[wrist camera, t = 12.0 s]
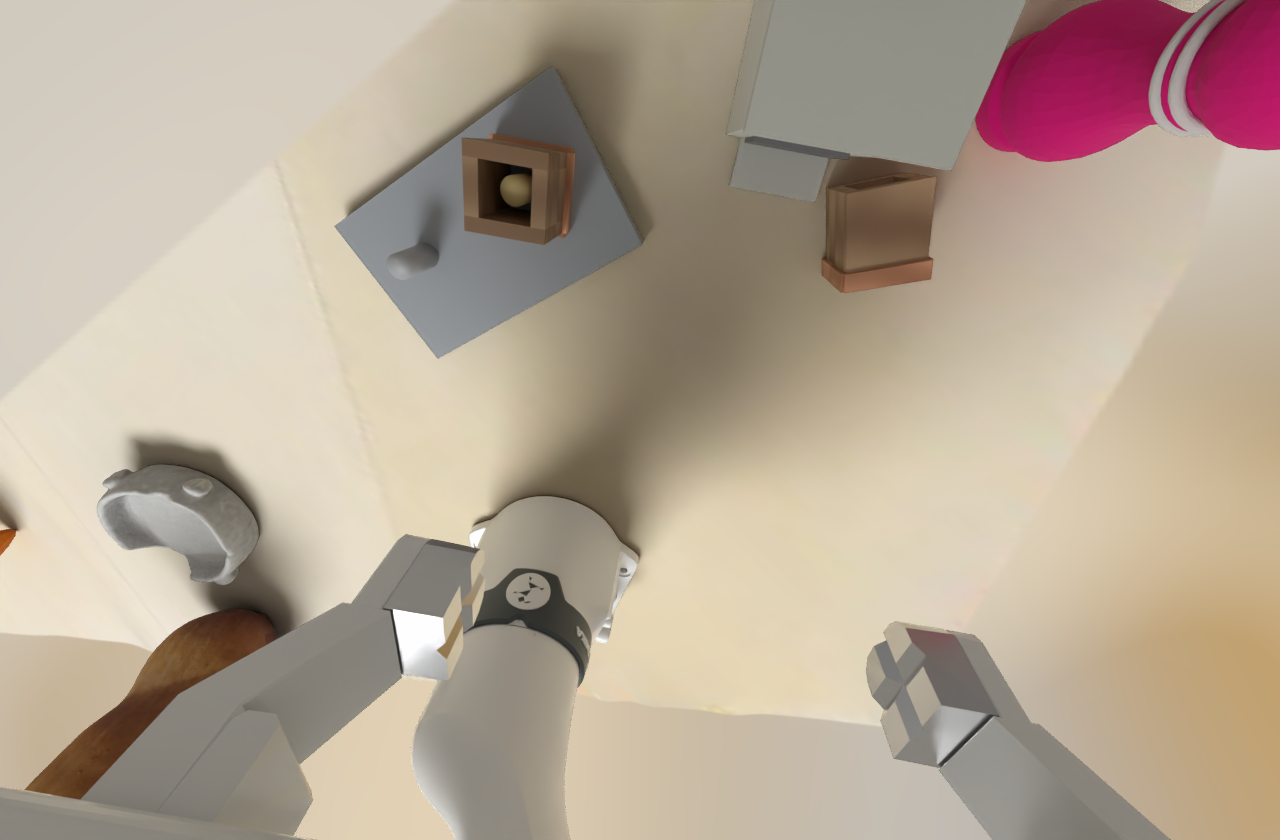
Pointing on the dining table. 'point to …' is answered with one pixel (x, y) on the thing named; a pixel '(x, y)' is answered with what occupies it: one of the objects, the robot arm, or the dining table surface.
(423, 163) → the pin board
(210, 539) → the dish
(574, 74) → the dining table surface
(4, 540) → the carrot
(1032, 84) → the pepper mill
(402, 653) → the robot arm
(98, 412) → the dining table surface
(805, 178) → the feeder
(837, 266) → the sleeve
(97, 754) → the butternut squash
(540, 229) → the sleeve
